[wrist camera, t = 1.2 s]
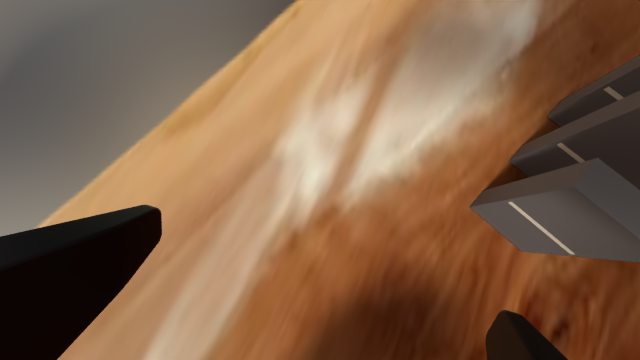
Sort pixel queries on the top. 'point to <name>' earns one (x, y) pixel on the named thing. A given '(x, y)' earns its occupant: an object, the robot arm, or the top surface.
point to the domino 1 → (568, 212)
